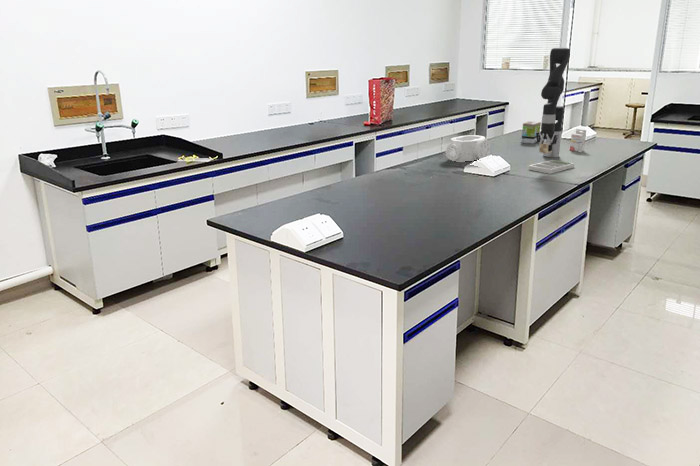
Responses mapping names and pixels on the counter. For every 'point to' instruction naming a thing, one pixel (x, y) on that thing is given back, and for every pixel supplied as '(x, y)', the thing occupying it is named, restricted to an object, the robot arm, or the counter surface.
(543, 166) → the divider frame
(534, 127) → the tea box
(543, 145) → the beech letter block
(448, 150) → the housing
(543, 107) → the robot arm
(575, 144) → the ink cartridge box
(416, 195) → the counter surface
